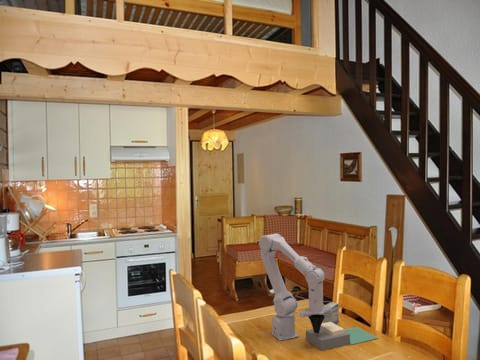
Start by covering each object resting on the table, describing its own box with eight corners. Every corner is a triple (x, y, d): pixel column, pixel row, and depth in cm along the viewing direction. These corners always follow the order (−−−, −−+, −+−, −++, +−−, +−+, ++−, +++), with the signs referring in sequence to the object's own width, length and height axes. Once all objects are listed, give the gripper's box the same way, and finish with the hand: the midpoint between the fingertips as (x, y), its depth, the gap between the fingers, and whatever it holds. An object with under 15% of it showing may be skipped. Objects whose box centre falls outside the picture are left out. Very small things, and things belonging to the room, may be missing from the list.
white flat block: (332, 336, 148) (332, 331, 148) (319, 328, 156) (319, 324, 156) (344, 334, 150) (344, 329, 150) (330, 326, 158) (330, 321, 158)
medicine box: (332, 326, 168) (332, 307, 168) (323, 324, 170) (322, 306, 171) (339, 321, 174) (338, 303, 174) (330, 319, 177) (329, 301, 177)
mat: (351, 345, 149) (351, 344, 149) (331, 333, 161) (331, 332, 161) (378, 338, 154) (378, 338, 154) (357, 327, 166) (357, 327, 166)
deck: (321, 350, 144) (321, 340, 144) (305, 339, 154) (305, 330, 154) (350, 344, 150) (349, 334, 150) (333, 333, 160) (332, 324, 160)
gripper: (306, 304, 143) (306, 339, 143) (336, 299, 149) (337, 332, 149) (296, 299, 150) (297, 332, 150) (325, 294, 156) (326, 326, 156)
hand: (316, 332), depth 150 cm, fingers closed
